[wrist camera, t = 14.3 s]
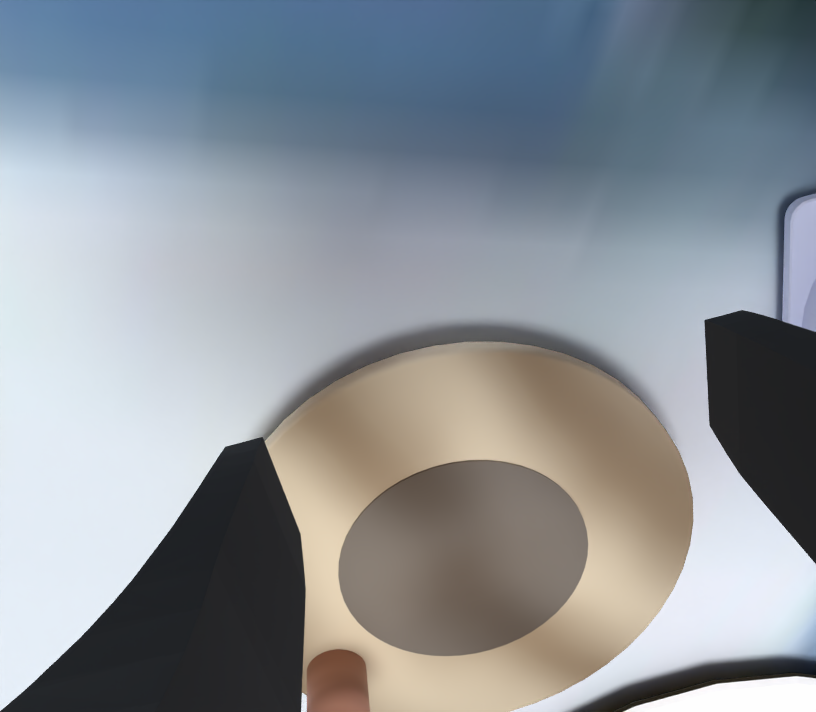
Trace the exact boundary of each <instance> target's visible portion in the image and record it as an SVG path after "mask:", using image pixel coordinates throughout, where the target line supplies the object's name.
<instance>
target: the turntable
mask: <svg viewBox="0 0 816 712" xmlns="http://www.w3.org/2000/svg"><path fill="white" fill-rule="evenodd" d="M265 444H266V447H267V449H268V452H269V454H270V457H271V459H272V462H273V465H274V467H275V470H276V472H277V475H278V477H279V480H280V482H281V485H282V488H283V490H284V493H285V495H286V498H287V500H288V503H289V505H290V508H291V510H292V513H293V516H294V518H295V521H296V523H297V526H298V528H299V531H300V533H301V542H302V552H303V562H304V574H305V586H306V600H305V628H304V652H303V674H302V693H304V694H306V695H307V712H509V711H513V710H516V709H519V708H522V707H525V706H528V705H531V704H534V703H537V702H539V701H541V700H543V699H546V698H548V697H550V696H553V695H555V694H557V693H560V692H562V691H564V690H565V689H567V688H569V687H571V686H573V685H575V684H576V683H578V682H580V681H582V680H584V679H585V678H587V677H588V676H590V675H591V674H593V673H594V672H596V671H597V670H599V669H600V668H602V667H603V666H605V665H606V664H608V663H609V662H610V661H611V660H613V659H614V658H615V657H616V656H617V655H619V654H620V653H621V652H622V651H624V650H625V649H626V648H627V647H628V646H629V645H630V644H631V643H632V642H633V641H634V640H635V639H636V638H637V637H638V636H639V635H640V634H641V633H642V632H643V631H644V630H645V629H646V627H647V626H648V625H649V624H650V622H651V621H652V620H653V619H654V617H655V616H656V615H657V614H658V612H659V611H660V610H661V608H662V607H663V605H664V603H665V602H666V600H667V599H668V597H669V595H670V594H671V592H672V591H673V589H674V587H675V584H676V582H677V580H678V578H679V576H680V573H681V571H682V569H683V567H684V563H685V560H686V556H687V553H688V550H689V546H690V541H691V534H692V526H693V497H692V492H691V487H690V482H689V477H688V473H687V471H686V468H685V466H684V463H683V460H682V458H681V455H680V453H679V451H678V449H677V448H676V446H675V444H674V443H673V441H672V439H671V438H670V436H669V434H668V433H667V431H666V430H665V428H664V427H663V426H662V424H661V423H660V422H659V420H658V419H657V418H656V416H655V415H654V414H653V413H652V412H651V411H650V410H649V408H648V407H647V406H646V405H645V404H644V403H643V402H642V400H641V399H640V398H639V397H638V396H637V395H635V394H634V393H633V392H632V391H631V390H629V389H628V388H627V387H626V386H625V385H623V384H622V383H621V382H620V381H618V380H617V379H615V378H614V377H612V376H610V375H609V374H607V373H605V372H604V371H602V370H600V369H599V368H597V367H595V366H593V365H591V364H589V363H586V362H584V361H582V360H579V359H577V358H574V357H572V356H569V355H567V354H564V353H560V352H557V351H553V350H549V349H545V348H541V347H537V346H532V345H524V344H516V343H508V342H460V343H451V344H443V345H434V346H429V347H425V348H421V349H417V350H412V351H408V352H404V353H400V354H397V355H394V356H391V357H389V358H386V359H383V360H380V361H377V362H375V363H372V364H369V365H367V366H365V367H363V368H361V369H359V370H357V371H355V372H353V373H351V374H349V375H347V376H345V377H343V378H341V379H339V380H337V381H335V382H333V383H332V384H330V385H329V386H327V387H326V388H324V389H323V390H321V391H320V392H318V393H317V394H315V395H314V396H312V397H311V398H309V399H308V400H307V401H305V402H304V403H303V404H302V405H301V406H300V407H298V408H297V409H296V410H295V411H294V412H293V413H291V414H290V415H289V416H288V417H287V418H286V419H284V420H283V422H282V423H281V424H280V425H279V426H278V427H277V428H276V429H275V430H274V432H273V433H272V434H271V435H270V436H269V437H268V438H267V439H266V441H265Z"/></svg>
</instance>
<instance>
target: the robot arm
mask: <svg viewBox="0 0 816 712" xmlns="http://www.w3.org/2000/svg"><path fill="white" fill-rule="evenodd" d="M705 340H706V360H707V381H708V401H709V422H710V427H711V429H712V430H713V432H714V434H715V435H716V437H717V438H718V440H719V442H720V443H721V445H722V447H723V448H724V450H725V452H726V453H727V455H728V456H729V458H730V460H731V461H732V463H733V464H734V466H735V467H736V469H737V470H738V472H739V473H740V475H741V476H742V477H743V478H744V480H745V481H746V482H747V483H748V485H749V486H750V487H751V488H752V489H753V491H754V492H755V493H756V494H757V495H758V497H759V498H760V499H761V500H762V501H763V503H764V504H765V505H766V506H767V507H768V508H769V510H770V511H771V512H772V513H773V514H774V516H775V517H776V518H777V519H778V520H779V521H780V523H781V524H782V525H783V526H784V527H785V528H786V530H787V531H788V532H789V533H790V534H791V535H792V537H793V538H794V539H795V540H796V541H797V542H798V544H799V545H800V546H801V547H802V548H803V549H804V551H805V552H806V553H807V554H808V555H809V556H810V558H811V559H812V560H813V561H814V562H815V563H816V194H812V195H808V196H804V197H801V198H799V199H796V200H795V201H794V202H793V203H792V204H790V206H789V207H788V209H787V211H786V214H785V225H784V268H783V311H782V321H780V320H777V319H774V318H770V317H767V316H763V315H760V314H756V313H752V312H748V311H743V310H741V311H737V312H734V313H730V314H726V315H722V316H719V317H715V318H711V319H707V320H705ZM305 600H306V586H305V574H304V562H303V552H302V542H301V533H300V531H299V528H298V526H297V523H296V521H295V518H294V516H293V513H292V510H291V508H290V505H289V503H288V500H287V498H286V495H285V493H284V490H283V488H282V485H281V482H280V480H279V477H278V475H277V472H276V470H275V467H274V465H273V462H272V459H271V457H270V454H269V452H268V449H267V447H266V444H265V442H264V439H263V437H261V438H257V439H253V440H250V441H246V442H242V443H238V444H235V445H231V446H227V447H225V448H224V450H223V451H222V453H221V454H220V455H219V457H218V458H217V460H216V462H215V463H214V465H213V466H212V468H211V469H210V471H209V472H208V474H207V475H206V477H205V479H204V480H203V482H202V483H201V485H200V486H199V488H198V489H197V491H196V492H195V494H194V495H193V497H192V498H191V500H190V501H189V503H188V504H187V506H186V507H185V509H184V510H183V512H182V513H181V515H180V516H179V518H178V519H177V521H176V522H175V524H174V525H173V527H172V528H171V529H170V531H169V532H168V534H167V535H166V536H165V538H164V539H163V540H162V541H161V543H160V544H159V545H158V547H157V548H156V549H155V551H154V552H153V553H152V555H151V556H150V557H149V559H148V560H147V561H146V563H145V564H144V565H143V567H142V568H141V569H140V571H139V572H138V573H137V575H136V576H135V577H134V578H133V580H132V581H131V582H130V583H129V584H128V586H127V587H126V588H125V589H124V590H123V592H122V593H121V594H120V595H119V596H118V597H117V599H116V600H115V601H114V602H113V603H112V604H111V605H110V606H109V608H108V609H107V610H106V611H105V612H104V613H103V614H102V615H101V616H100V617H99V618H98V620H97V621H96V622H95V623H94V624H93V625H92V626H91V627H90V628H89V629H88V630H87V631H86V632H85V633H84V634H83V636H82V637H81V638H80V639H79V640H78V641H77V642H75V643H74V644H73V645H72V646H71V647H70V648H69V649H68V650H67V651H66V652H65V653H64V654H63V655H62V656H61V657H60V658H59V659H58V660H57V661H56V662H54V663H53V664H52V665H51V666H50V667H49V668H48V669H47V670H46V671H45V672H44V673H43V674H42V675H41V676H40V677H39V678H38V679H37V680H36V681H35V682H33V683H32V684H31V685H30V686H29V687H28V688H27V689H26V690H25V691H23V692H22V693H21V694H20V695H19V696H18V697H17V698H15V699H14V700H13V701H12V702H11V703H9V704H8V705H7V706H6V707H5V708H4V709H2V710H1V711H0V712H301V697H302V674H303V652H304V628H305Z"/></svg>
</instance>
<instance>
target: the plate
mask: <svg viewBox="0 0 816 712" xmlns="http://www.w3.org/2000/svg"><path fill="white" fill-rule="evenodd" d="M613 712H816V675H809V674H800V673H785V674H775V675H764V676H753V677H743V678H732V679H722V680H712V681H708V682H705V683H701V684H697V685H694V686H690V687H687V688H683V689H679V690H676V691H672V692H668V693H665V694H661V695H657V696H654V697H650V698H647V699H643V700H639V701H636V702H632V703H630V704H628V705H626V706H624V707H622V708H619V709H617V710H615V711H613Z"/></svg>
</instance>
